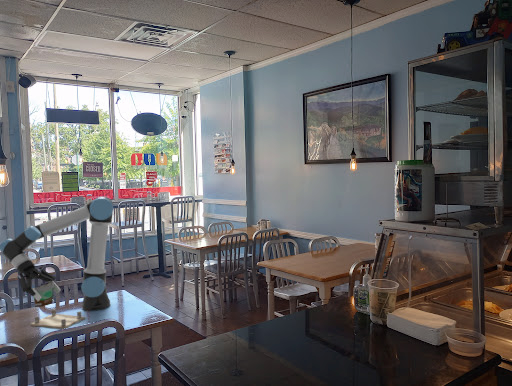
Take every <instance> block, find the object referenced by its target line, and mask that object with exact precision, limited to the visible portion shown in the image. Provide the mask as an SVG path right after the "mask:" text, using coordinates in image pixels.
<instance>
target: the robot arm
mask: <svg viewBox="0 0 512 386" xmlns="http://www.w3.org/2000/svg"><path fill="white" fill-rule="evenodd" d="M113 214H114V203H113V200H111V198H109V197H107V196H99V197H96V198H95V199H93V200H91V201H90V202H88V203H85V204H84V206H82V207H79V208H76V209H74V210H71V211H69V212H66V213H64V214H61V215H59V216H56V217H54V218H52V219H49V220H46V221H44V222H41V223H40V224H36V225H30V226H29V227H27V228H25V229H24V230H23V231H22V232H21V233H20V234H18V236H16V237H15V238H14V239H12V238H8V239H7V238H6V239H5V240H4V241H2V242H1V243H0V251H1V253H2V255H3V256H4V257H5V258H6V259H7V260H8V261H9V262H10V264H11V265H12V266H13V267H14V269H16V271H17V272H18V275H17V279H18V280H19V283H20V286H21V289H22V292H23V293H27V294H30V295H31V296H32V297H33V299H34V298H35V299H36V300H37V301H39V300H40V299H41V298H42V297H41V296H40V295H39V294H38V292H37V291H36V290H35V289H34V288H35V287H33V285H32V281H33V279H34V280H35V279H37V280H38V279H39V280H41V281H44V282H46V283H48V281H51V282H53V284H54V287H53V292H55V293H56V294H58V293H60V291H61V290H62V289H61V288H60V287H59V286H58V284H57V282H56V281H55V280H56V279H57V278H56V276H55V275H53V274H52V273H50V272H48V271H47V270H45V269H44V268H43V267H41V266H40V267H39V268H36V267H35V263H33V261H32V260H30V258H29V257H28V255H27V254H26V253H25V250H27V248H29V247H30V246H31V245H32V244H34V243H35V242H36V241H38V240H41V239H42V238H45V237H48V236H50V235H53V234H54V233H57V232H60V231H63V230H65V229H67V228H70V227H72V226H75V225H77V224H80V223H82V222H85V221H87V220H88V222H89V223H90V224H91V228H90V237H89V248H88V257H87V265H86V268H84V269H83V274H82V276H83V277H82V283H81V285H80V287H81V291H82V293H83V294H84V298H83V301H82V304H81V307H82V310H84V311H89V312H90V311H91V312H92V311H100V310H104V309H106V308H109V307H110V306H111V300H110V298H109V295H108V293H107V292H108V291H107V270H106V267H105V263H106V250H107V242H108V231H109V225H111V224H112V221H113Z"/></svg>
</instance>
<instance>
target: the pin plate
mask: <svg viewBox="0 0 512 386" xmlns="http://www.w3.org/2000/svg"><path fill="white" fill-rule="evenodd" d="M85 319H86V316H83V315H82V311H77V312H76V315H71V314H61V313H57V311H56V309H55V308H53V309H51V314H50V315H47V316H45V317H43V318H41V319H40V316H39V315H36V316H34V321H33V322H31V323H30V325H31V326H33V327H34V326H35V327H41V328H50V329H51V328H52V329H60V330H65V329H67V328H69V327H72V326H73V325H76V324H78V323H80V322H81V321H83V320H85ZM64 328H65V329H64Z"/></svg>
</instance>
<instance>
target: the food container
mask: <svg viewBox="0 0 512 386" xmlns="http://www.w3.org/2000/svg"><path fill="white" fill-rule="evenodd" d="M53 287H54V284H53V282H51V281H48V282H46V283H45V284H41V285H39V286H38V287H33V288H34V289H35V290H36V291H37V292H38V294H39V295H40V296H41V297H42V298H41V299H40V300H39V301H37V300H36V299H35V298H34V297H33V300H34V307H35V308H40V307H45V306H49V305H52V304H53V294H54V293H53V292H54V289H53Z"/></svg>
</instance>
